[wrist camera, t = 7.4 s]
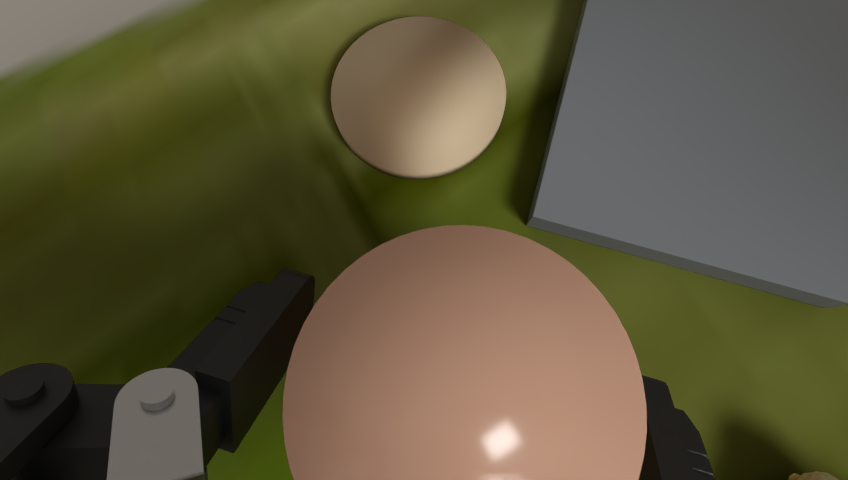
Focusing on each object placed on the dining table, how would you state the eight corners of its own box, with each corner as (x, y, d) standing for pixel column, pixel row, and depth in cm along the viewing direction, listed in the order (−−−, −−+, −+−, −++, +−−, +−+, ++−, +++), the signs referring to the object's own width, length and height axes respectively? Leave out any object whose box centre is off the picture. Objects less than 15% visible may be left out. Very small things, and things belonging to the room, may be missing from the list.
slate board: (853, -7, 20) (880, -30, 18) (823, 307, 16) (853, 304, 15) (599, -63, 21) (609, -88, 19) (526, 225, 17) (532, 216, 16)
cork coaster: (521, 48, 19) (524, 38, 19) (478, 199, 18) (480, 194, 17) (364, 10, 20) (362, -1, 19) (309, 153, 18) (305, 146, 18)
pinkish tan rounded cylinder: (533, 320, 17) (675, 278, 7) (497, 469, 15) (607, 669, 6) (397, 280, 17) (349, 187, 7) (352, 421, 16) (227, 534, 6)
